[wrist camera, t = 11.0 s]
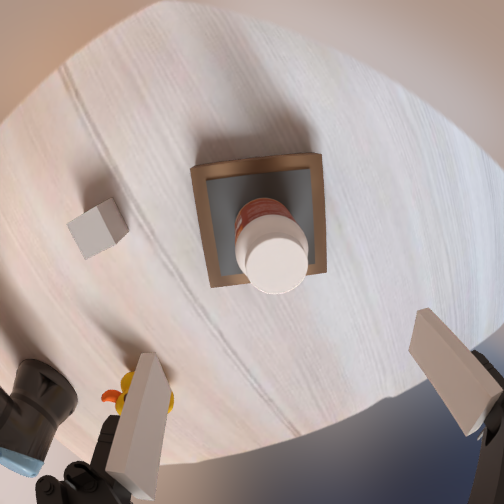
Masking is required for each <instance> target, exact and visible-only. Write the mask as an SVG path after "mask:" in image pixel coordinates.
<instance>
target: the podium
mask: <svg viewBox="0 0 504 504" xmlns="http://www.w3.org/2000/svg"><path fill="white" fill-rule="evenodd" d="M190 172H191V178H192V185H193V191H194V197H195V204H196V210H197V216H198V222H199V227H200V233H201V239H202V244H203V250H204V255H205V261H206V266H207V271H208V276H209V281H210V286H211V288H214V287H223V286H231V285H239V284H247V283H251V282H250V281H249V279H248V277H247V276H246V275H245V274H244V273H243V272H242V270H241V269H240V267H239V265H238V263H237V259H236V254H235V221H236V218H237V215H238V213H239V211H240V210H241V209H242V208H243V207H244V206H245V205H246V204H247V203H249V202H250V201H252V200H255V199H258V198H270V199H274V200H276V201H278V202H280V203H281V204H283V205H284V206H285V207H286V208H287V210H288V211H289V212H290V214H291V215H292V217H293V218H294V219H295V221H296V222H297V224H298V225H299V226H300V228H301V229H302V231H303V232H304V234H305V236H306V239H307V242H308V257H307V258H308V269H307V273H306V275H313V274H320V273H326V272H327V252H326V218H325V197H324V180H323V166H322V154H318V153H312V152H311V153H297V154H285V155H274V156H264V157H255V158H247V159H238V160H231V161H223V162H216V163H209V164H203V165H196V166H194V167H192V168H190ZM306 275H305V276H306Z"/></svg>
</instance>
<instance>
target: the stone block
mask: <svg viewBox="0 0 504 504" xmlns="http://www.w3.org/2000/svg"><path fill="white" fill-rule="evenodd" d="M67 226H68V228H69V230H70V232H71V234H72V236H73V238H74V240H75V242H76V244H77V246H78V247H79V249H80V251H81V253H82V255H83V257H84V258H85V260H87V259H88V258H90V257H92V256H94V255H96V254H98V253H100V252H102V251H104V250H106V249H108V248H110V247H112V246H114V245H116V244H117V243H118V242H119V241H120V240H121V239H122V238H123V237H124V236H125V235H126V234H127V233H128V232H129V230H128V228H127V226H126V224H125V222H124V220H123V218H122V216H121V214H120V212H119V210H118V208H117V206H116V204H115V202H114V200H113V197H112V198H110V199H108V200H106V201H104V202H102V203H101V204H99V205H97V206H95V207H94V208H92V209H90V210H88V211H87V212H85V213H83V214H82V215H80V216H79V217H77V218H75V219H74V220H72V221H71V222H69V223H67Z"/></svg>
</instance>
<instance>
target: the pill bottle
mask: <svg viewBox="0 0 504 504" xmlns="http://www.w3.org/2000/svg"><path fill="white" fill-rule="evenodd" d="M235 254H236V259H237V263H238V265H239V267H240V269H241V270H242V272H243V273H244V274H245V275H246V276H247V277H248V279H249V281H250V282H251V283H252V285H253V286H254V287H255V288H257V289H258V290H260V291H262V292H264V293H268V294H282V293H286V292H288V291H291V290H292V289H294V288H295V287H297V286H298V285H299V284H300V283H301V282H302V280H303V279H304V277H305V275H306V273H307V269H308V258H307V257H308V242H307V239H306V236H305V234H304V232H303V231H302V229H301V228H300V226H299V225H298V224H297V222H296V221H295V219H294V218H293V217H292V215H291V214H290V212H289V211H288V210H287V208H286V207H285V206H284V205H283V204H281V203H280V202H278V201H276V200H274V199H270V198H258V199H255V200H252V201H250V202H249V203H247V204H246V205H245V206H244V207H243V208H242V209H241V210H240V211H239V213H238V215H237V218H236V221H235Z"/></svg>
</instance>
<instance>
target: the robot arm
mask: <svg viewBox="0 0 504 504" xmlns="http://www.w3.org/2000/svg"><path fill="white" fill-rule="evenodd" d="M409 352H410V354H411V355H412V357H413V358H414V359H415V361H416V362H417V363H418V365H419V366H420V368H421V369H422V371H423V372H424V373H425V375H426V376H427V378H428V379H429V380H430V382H431V383H432V385H433V386H434V388H435V389H436V391H437V392H438V394H439V395H440V397H441V398H442V400H443V401H444V403H445V404H446V406H447V407H448V409H449V410H450V412H451V414H452V415H453V417H454V418H455V420H456V421H457V423H458V424H459V426H460V428H461V429H462V431H463V433H464V434H465V436H468V435H470V434H471V433H473V432H475V431H476V430H478V429H479V427H480V426H481V425H482V423H483V422H484V423H485V425H486V426H485V428H484V429H483V430H482V432H481V433H480V435H479V436H478V438H477V440H479V439H480V438H481V437H482V435H483V438H482V444H481V450H480V456H479V461H478V466H477V470H476V474H475V479H474V483H473V487H472V490H471V494H470V497H469V501H468V504H504V378H503V377H502V376H501V375H500V373H499V372H498V371H497V370H496V369H495V368H494V367H493V365H492V364H491V363H489V361H488V360H487V359H486V358H485V356H484V355H483V354H481V353H479V352H478V351H476V350H473V351H471V352H470V351H469V349H468V348H467V347H466V346H465V345H464V344H463V343H462V342H461V341H460V340H459V339H458V338H457V336H456V335H455V334H454V333H453V332H452V331H451V330H450V329H449V328H448V327H447V326H446V325H445V324H444V323H443V322H442V321H441V320H440V319H439V318H438V317H437V316H436V315H435V314H434V313H433V312H432V310H431V309H430V308H425V309H422V310H418V311H417V315H416V320H415V325H414V329H413V334H412V338H411V342H410V347H409ZM171 392H172V390H171V388H170V386H169V383H168V381H167V379H166V376H165V374H164V372H163V369H162V367H161V364H160V362H159V360H158V357H157V355H156V353H141V355H140V358H139V361H138V364H137V367H136V370H135V373H134V376H133V379H132V382H131V385H130V388H129V391H128V394H127V397H126V400H125V403H124V406H123V409H122V413H121V416H119V415H110V416H109V417H108V418H107V419H106V421H105V422H104V423H103V426H102V429H101V432H100V435H99V438H98V442H97V444H96V447H95V450H94V453H93V457H92V460H91V463H90V465H89V464H88V463H86V462H84V461H76V462H72V463H71V464H70V465H68V466H67V468H66V469H65V471H64V481H58V480H57V479H56V478H55V477H53V476H51V475H45V476H42V477H41V478H40V479H38V481H37V483H36V487H35V491H36V500H37V504H133V503H132V502H131V501H130V500H131V494H132V495H133V496H135V497H136V498H137V499H143V500H151V501H154V500H155V493H156V485H157V478H158V471H159V464H160V457H161V450H162V444H163V438H164V431H165V425H166V420H167V414H168V408H169V402H170V397H171ZM77 403H78V399H77V395H76V393H75V391H74V389H73V388H72V386H71V385H70V384H69V383H68V381H67V380H66V379H65V378H64V377H63V376H62V375H60V374H59V373H58V372H57V371H55V370H54V369H53V368H51V367H50V366H48V365H46V364H44V363H42V362H40V361H37V360H33V359H26V360H24V361H23V362H22V363H21V364H20V366H19V367H18V369H17V372H16V378H15V382H14V386H13V390H12V393H11V395H10V396H9V395H8V394H7V393H6V392H5V391H4V390H3V389H2V387H1V386H0V464H1V465H3V466H5V467H7V468H8V469H10V470H12V471H14V472H16V473H18V474H20V475H23V476H26V477H31V478H33V477H36V476H37V475H38V473H39V471H40V469H41V467H42V465H43V464H44V460H45V457H46V455H47V452H48V450H49V447H50V444H51V442H52V440H53V437H54V435H55V432H56V430H57V428H58V426H59V425H60V424H61V423H62V422H64V421H65V420H66V419H67V417H68V416H70V415H71V414H72V413H73V412H74V410H75V408H76V406H77Z"/></svg>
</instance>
